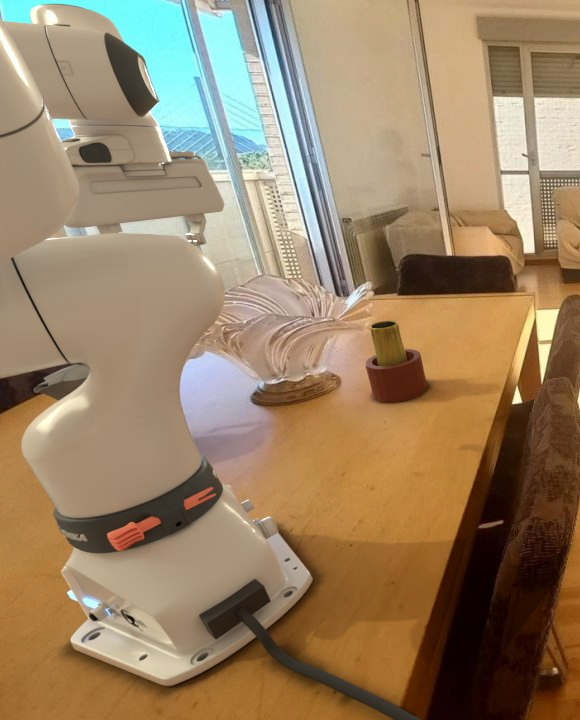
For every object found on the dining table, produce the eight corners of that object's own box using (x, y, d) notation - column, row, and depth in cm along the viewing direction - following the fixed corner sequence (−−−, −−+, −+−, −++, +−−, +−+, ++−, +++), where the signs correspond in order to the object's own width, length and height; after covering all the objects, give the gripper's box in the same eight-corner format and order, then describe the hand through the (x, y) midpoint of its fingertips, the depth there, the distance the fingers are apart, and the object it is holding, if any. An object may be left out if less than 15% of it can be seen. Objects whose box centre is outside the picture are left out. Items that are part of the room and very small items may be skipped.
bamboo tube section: (393, 397, 96) (376, 331, 90) (377, 390, 99) (360, 325, 94) (420, 386, 100) (406, 322, 95) (404, 379, 104) (390, 317, 98)
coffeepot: (105, 473, 75) (48, 371, 68) (58, 469, 77) (-3, 368, 70) (198, 423, 89) (159, 334, 82) (156, 421, 91) (114, 333, 84)
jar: (437, 385, 102) (431, 353, 99) (396, 406, 93) (388, 372, 91) (404, 377, 106) (397, 346, 103) (362, 396, 98) (353, 363, 95)
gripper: (185, 151, 76) (216, 239, 82) (12, 151, 58) (68, 264, 63) (216, 150, 75) (246, 239, 80) (51, 149, 56) (104, 264, 62)
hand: (167, 250), depth 72 cm, fingers open, 8 cm apart
